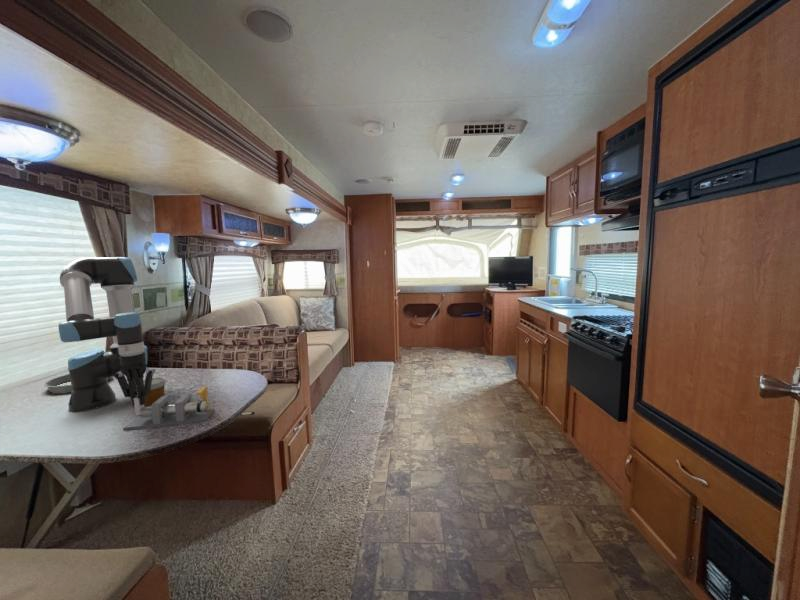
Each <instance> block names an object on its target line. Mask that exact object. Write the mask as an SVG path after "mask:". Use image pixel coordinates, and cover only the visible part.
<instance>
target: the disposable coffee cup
mask: <svg viewBox="0 0 800 600" xmlns="http://www.w3.org/2000/svg"><path fill="white" fill-rule="evenodd" d="M143 381H144V385H145V380H143ZM165 385H166V380H165V378H163V377H154V378H153V377H152V383H151V390H150V393H148V394H147V395H145V404H144V407H149V406H151V405H152V404H153V403H154V402H155V401H157V400H158V399H159V398H160V397H162V396H165Z"/></svg>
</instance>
